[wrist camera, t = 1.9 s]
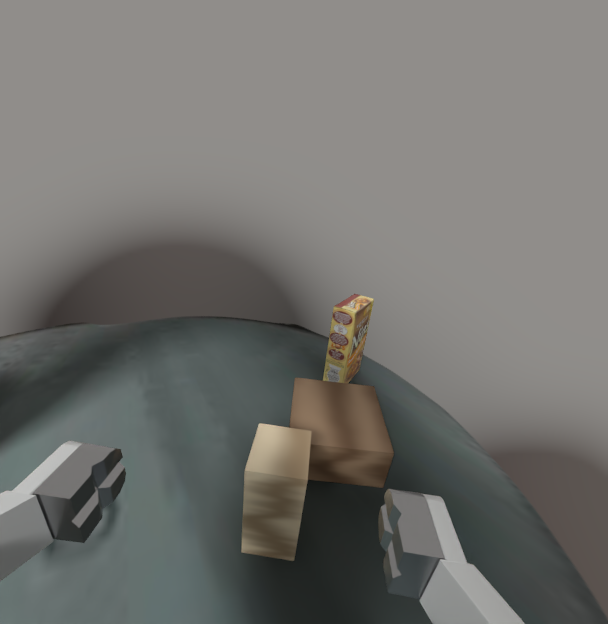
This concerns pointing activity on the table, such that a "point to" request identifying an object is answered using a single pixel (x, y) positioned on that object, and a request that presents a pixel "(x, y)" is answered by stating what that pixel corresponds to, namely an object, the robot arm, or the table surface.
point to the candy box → (347, 338)
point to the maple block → (275, 491)
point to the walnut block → (342, 432)
